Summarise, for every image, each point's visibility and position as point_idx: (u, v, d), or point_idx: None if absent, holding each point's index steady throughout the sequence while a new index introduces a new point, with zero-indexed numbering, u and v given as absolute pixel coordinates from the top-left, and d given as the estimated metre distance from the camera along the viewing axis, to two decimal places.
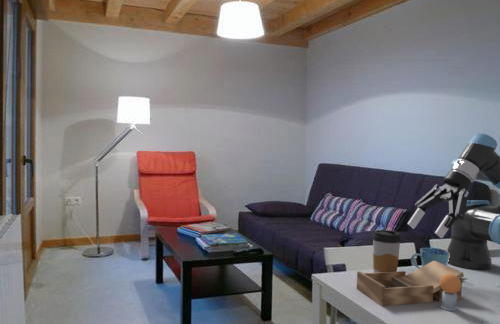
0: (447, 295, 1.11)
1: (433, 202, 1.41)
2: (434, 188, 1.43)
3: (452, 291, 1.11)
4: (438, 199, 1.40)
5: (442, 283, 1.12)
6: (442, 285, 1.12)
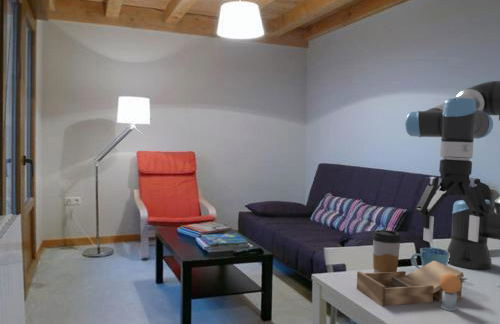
0: (447, 295, 1.11)
1: None
2: (436, 184, 1.09)
3: (452, 291, 1.11)
4: None
5: (442, 283, 1.12)
6: (442, 285, 1.12)
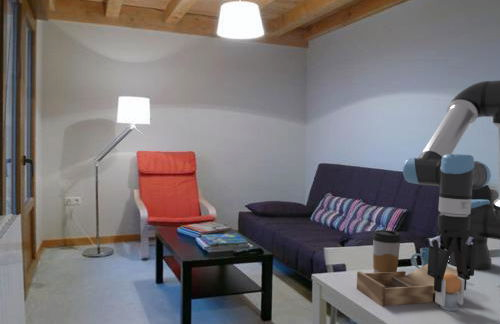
0: (447, 295, 1.11)
1: None
2: (437, 245, 1.10)
3: (452, 291, 1.11)
4: None
5: None
6: None
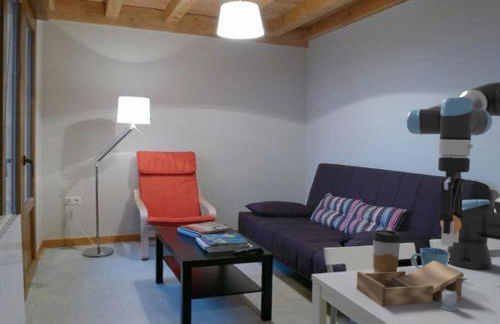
0: (447, 295, 1.11)
1: None
2: (452, 187, 1.10)
3: (457, 231, 1.14)
4: None
5: None
6: None
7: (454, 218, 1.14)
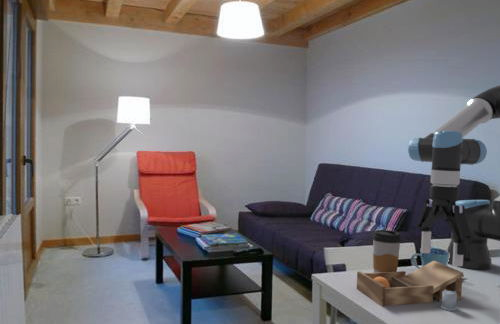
0: (447, 295, 1.11)
1: None
2: None
3: (382, 278, 1.19)
4: None
5: None
6: None
7: None
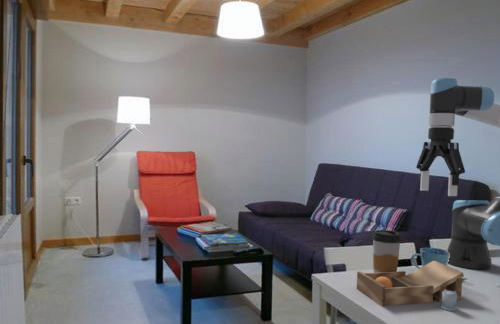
0: (447, 295, 1.11)
1: None
2: None
3: None
4: None
5: None
6: (388, 287, 1.18)
7: None
